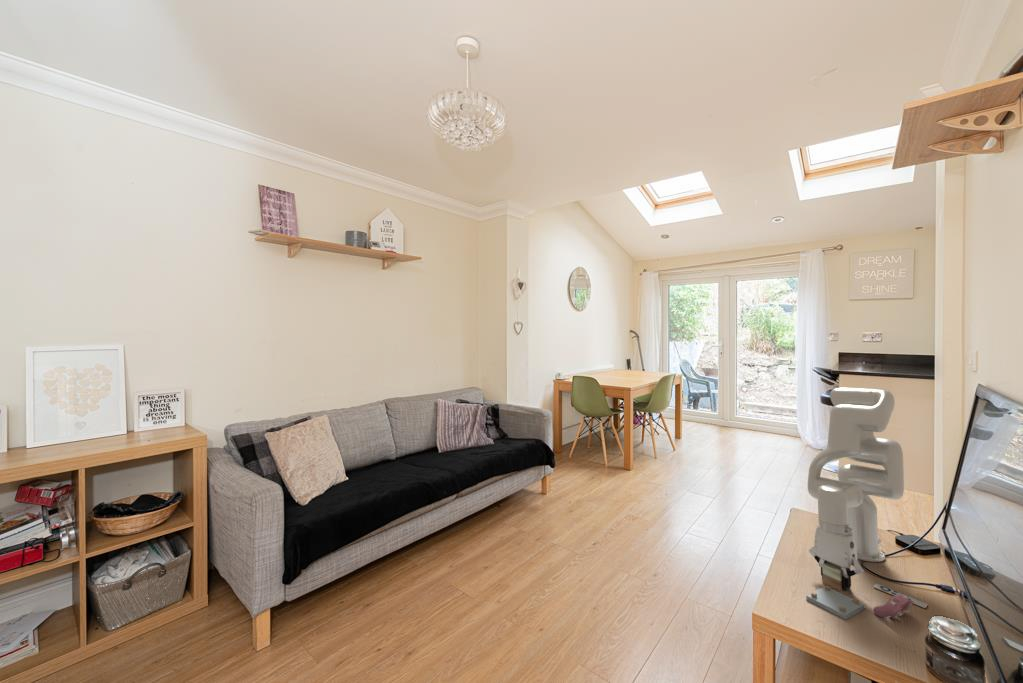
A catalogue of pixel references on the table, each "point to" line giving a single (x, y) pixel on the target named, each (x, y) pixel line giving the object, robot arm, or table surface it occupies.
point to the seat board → (835, 602)
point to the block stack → (832, 575)
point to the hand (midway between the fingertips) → (835, 583)
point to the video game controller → (894, 607)
